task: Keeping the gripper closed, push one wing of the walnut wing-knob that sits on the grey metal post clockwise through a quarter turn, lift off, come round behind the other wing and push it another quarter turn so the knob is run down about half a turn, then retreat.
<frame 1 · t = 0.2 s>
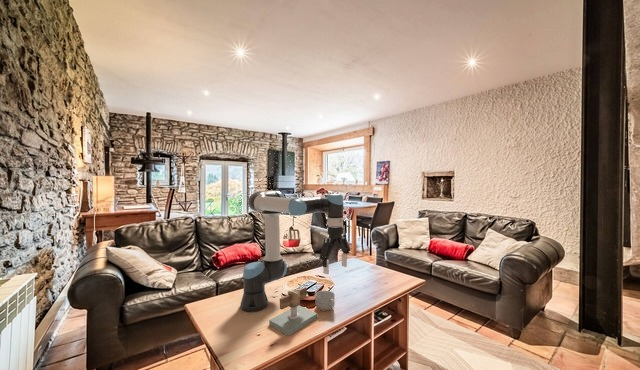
hand: (335, 269, 127), 28 cm above the table, fingers open, 13 cm apart
knob: (293, 298, 132), point 12 cm above the table, hinge at 0.0°
grey-green base: (293, 321, 132), on the table
teacup: (326, 309, 144), on the table
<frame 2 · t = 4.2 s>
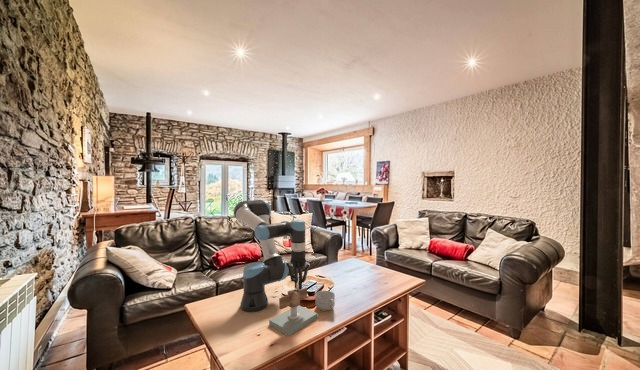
hand: (298, 294, 137), 11 cm above the table, fingers closed
knob: (293, 298, 132), point 12 cm above the table, hinge at 2.5°, touching gripper
everything else where it was.
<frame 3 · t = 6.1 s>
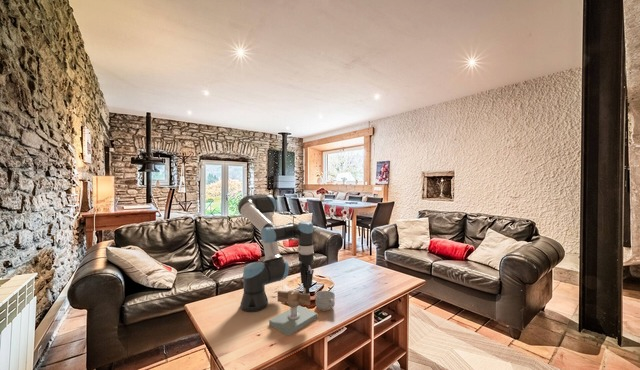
hand: (306, 299, 133), 11 cm above the table, fingers closed
knob: (293, 298, 132), point 12 cm above the table, hinge at 64.1°, touching gripper
everything else where it was.
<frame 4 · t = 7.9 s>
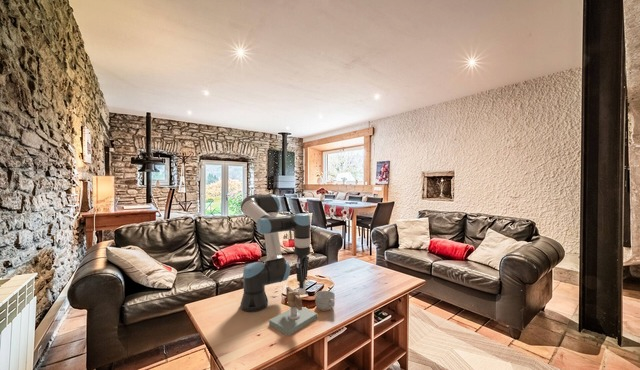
hand: (302, 293, 128), 16 cm above the table, fingers closed
knob: (293, 298, 132), point 12 cm above the table, hinge at 111.1°
everything else where it was.
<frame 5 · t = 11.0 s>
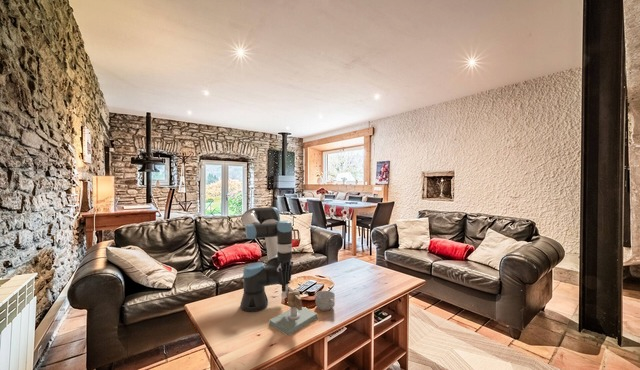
hand: (285, 296, 136), 11 cm above the table, fingers closed
knob: (293, 298, 132), point 12 cm above the table, hinge at 111.6°, touching gripper
everything else where it was.
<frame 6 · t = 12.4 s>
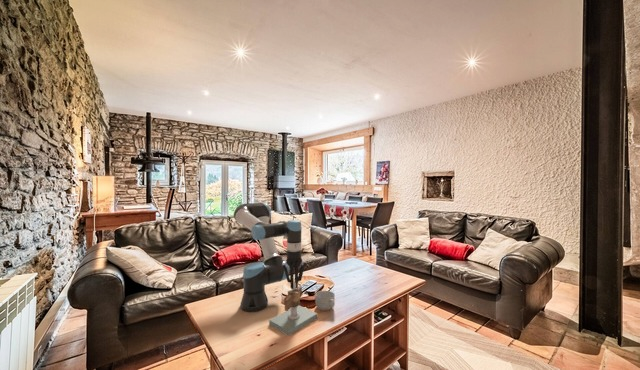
hand: (294, 294, 138), 11 cm above the table, fingers closed
knob: (293, 298, 132), point 12 cm above the table, hinge at 158.3°, touching gripper
everything else where it was.
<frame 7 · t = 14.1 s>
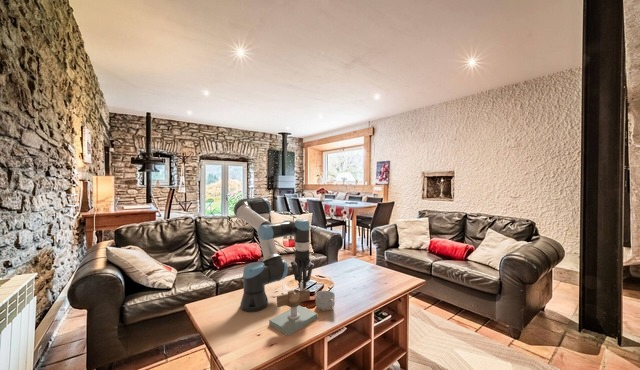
hand: (302, 294, 137), 12 cm above the table, fingers closed
knob: (293, 298, 132), point 12 cm above the table, hinge at 202.6°
everything else where it was.
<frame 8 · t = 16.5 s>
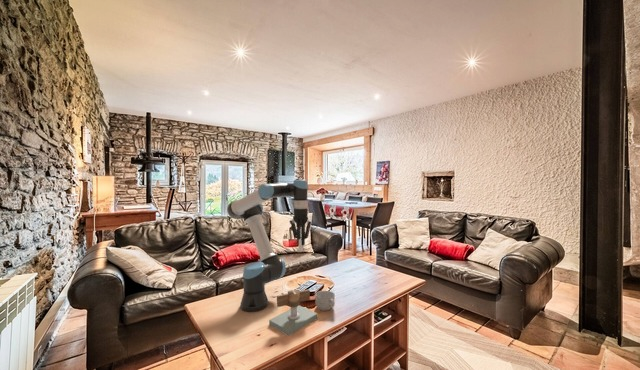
hand: (301, 251, 143), 32 cm above the table, fingers closed
nothing on the table moved.
at the end: knob at +203° (first picture: +0°); the gripper is holding nothing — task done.
